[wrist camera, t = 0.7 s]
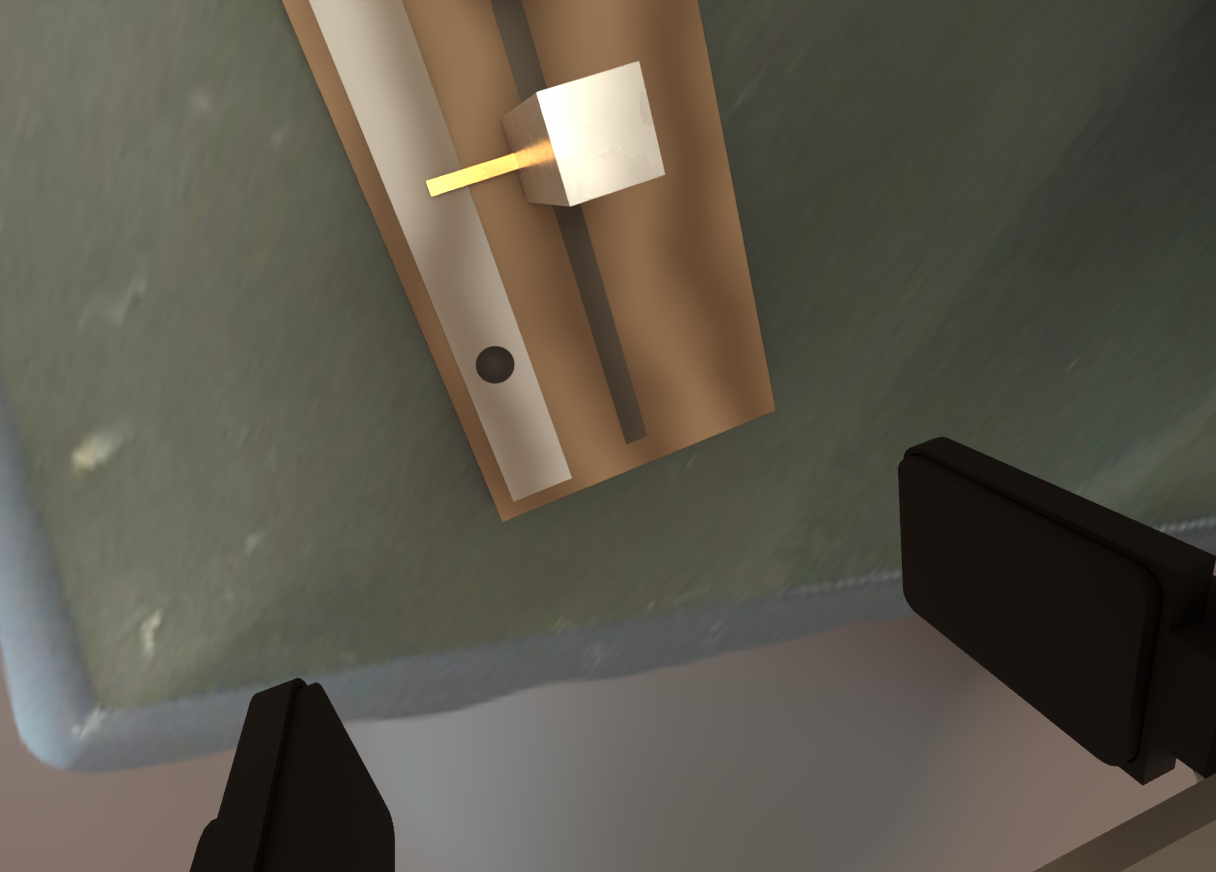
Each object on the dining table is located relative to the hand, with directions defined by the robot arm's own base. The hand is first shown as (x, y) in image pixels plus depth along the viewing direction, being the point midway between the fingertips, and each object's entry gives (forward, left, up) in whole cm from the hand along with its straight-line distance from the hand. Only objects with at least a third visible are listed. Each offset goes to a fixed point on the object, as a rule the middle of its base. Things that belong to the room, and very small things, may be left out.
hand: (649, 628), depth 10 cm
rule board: (-5, -4, -24) cm, 25 cm away
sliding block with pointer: (-4, -7, -22) cm, 23 cm away
